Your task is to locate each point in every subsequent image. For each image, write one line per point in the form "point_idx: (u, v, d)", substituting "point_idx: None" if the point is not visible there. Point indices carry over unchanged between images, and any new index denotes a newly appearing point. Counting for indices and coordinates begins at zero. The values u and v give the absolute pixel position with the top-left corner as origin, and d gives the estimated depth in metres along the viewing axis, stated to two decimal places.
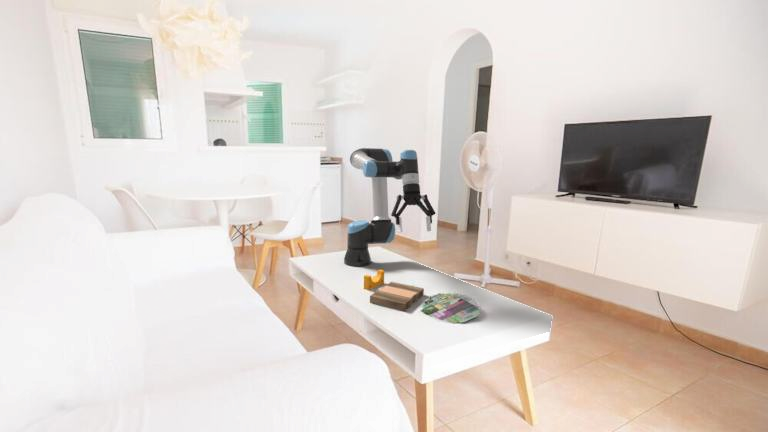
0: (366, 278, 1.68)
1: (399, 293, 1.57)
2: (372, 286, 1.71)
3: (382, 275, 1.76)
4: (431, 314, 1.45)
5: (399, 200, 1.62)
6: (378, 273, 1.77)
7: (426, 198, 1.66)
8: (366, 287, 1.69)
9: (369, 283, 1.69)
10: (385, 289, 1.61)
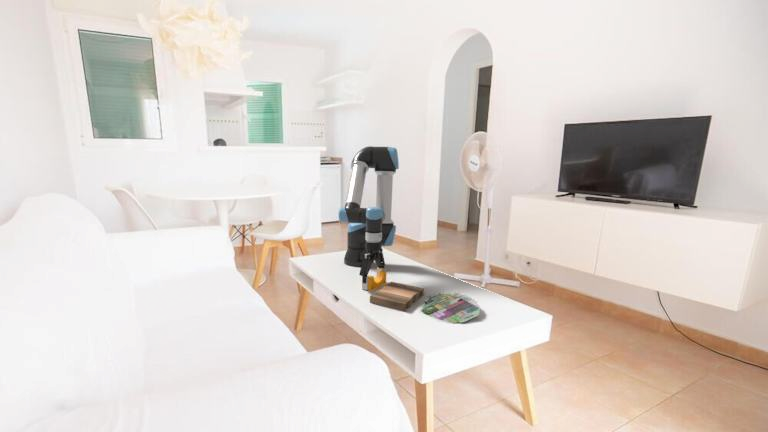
0: (369, 278, 1.67)
1: (399, 293, 1.57)
2: (375, 287, 1.70)
3: (384, 276, 1.76)
4: (431, 314, 1.45)
5: (368, 260, 1.66)
6: (380, 274, 1.76)
7: (381, 252, 1.77)
8: (369, 288, 1.68)
9: (372, 284, 1.68)
10: (385, 289, 1.61)
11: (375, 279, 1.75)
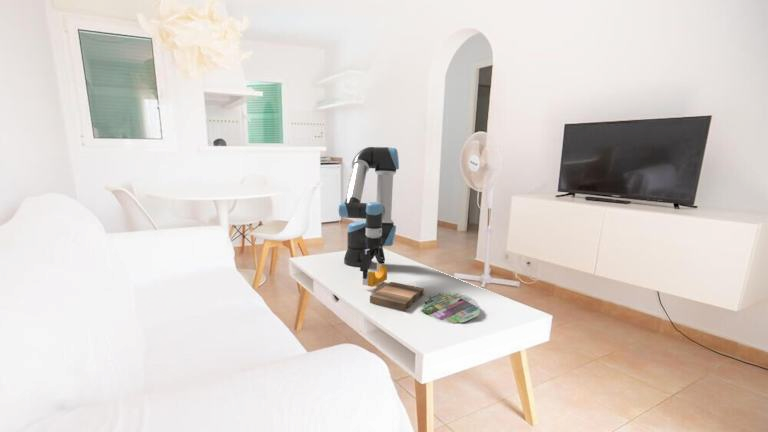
0: (370, 274, 1.68)
1: (399, 293, 1.57)
2: (376, 282, 1.70)
3: (385, 271, 1.76)
4: (431, 314, 1.45)
5: (368, 255, 1.66)
6: (381, 269, 1.76)
7: (382, 247, 1.77)
8: (370, 283, 1.68)
9: (373, 279, 1.68)
10: (385, 289, 1.61)
11: (376, 274, 1.75)
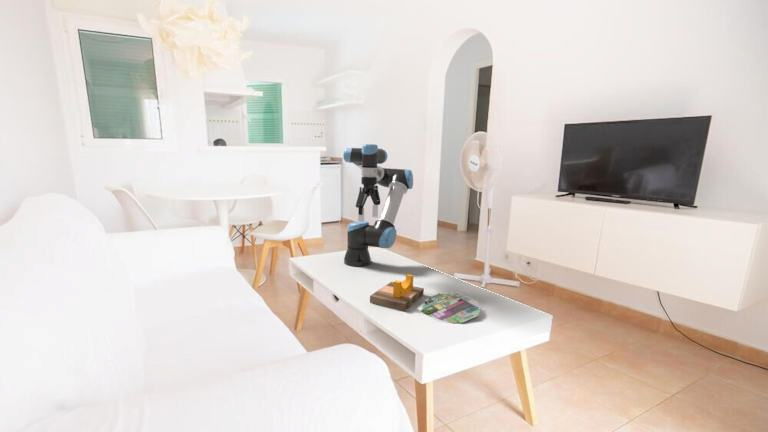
0: (396, 284, 1.52)
1: None
2: (402, 293, 1.55)
3: (411, 280, 1.60)
4: (431, 314, 1.45)
5: (364, 192, 1.76)
6: (407, 278, 1.61)
7: (377, 189, 1.87)
8: (396, 294, 1.53)
9: (399, 290, 1.53)
10: (385, 289, 1.61)
11: (401, 284, 1.60)
